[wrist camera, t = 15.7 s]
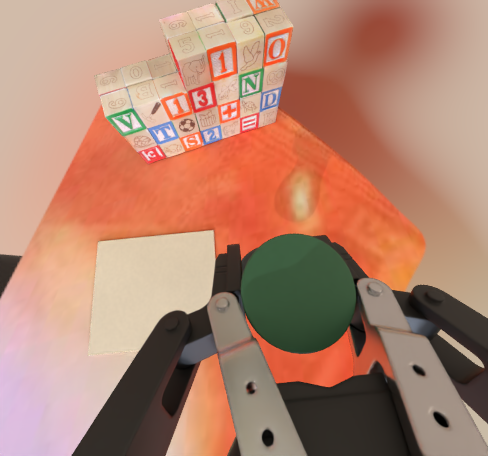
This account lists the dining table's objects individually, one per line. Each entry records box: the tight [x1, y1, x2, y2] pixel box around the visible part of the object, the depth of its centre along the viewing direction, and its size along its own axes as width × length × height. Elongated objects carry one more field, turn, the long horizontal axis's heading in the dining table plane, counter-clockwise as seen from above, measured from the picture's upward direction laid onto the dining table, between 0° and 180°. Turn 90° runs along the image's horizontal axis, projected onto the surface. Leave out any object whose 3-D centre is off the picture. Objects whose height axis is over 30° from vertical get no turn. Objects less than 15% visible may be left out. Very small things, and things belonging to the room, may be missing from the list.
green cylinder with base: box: [241, 234, 356, 354], centre depth 12 cm, size 6×6×10 cm
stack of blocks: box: [95, 0, 293, 164], centre depth 24 cm, size 21×6×12 cm, turn 111°
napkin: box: [88, 230, 216, 356], centre depth 25 cm, size 16×14×1 cm
